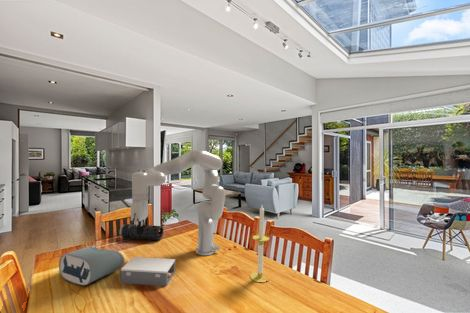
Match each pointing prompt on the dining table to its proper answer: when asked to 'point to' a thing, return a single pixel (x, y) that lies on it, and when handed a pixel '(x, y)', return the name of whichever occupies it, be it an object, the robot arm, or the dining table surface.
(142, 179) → the robot arm
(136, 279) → the cable duct
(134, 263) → the plate
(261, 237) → the candle
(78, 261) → the pencil case
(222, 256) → the dining table surface
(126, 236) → the muzzle brake
